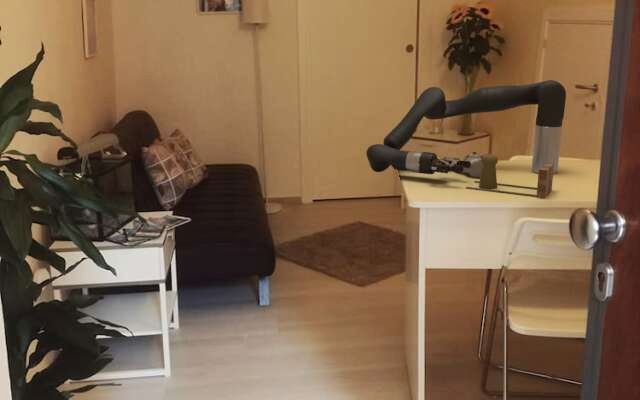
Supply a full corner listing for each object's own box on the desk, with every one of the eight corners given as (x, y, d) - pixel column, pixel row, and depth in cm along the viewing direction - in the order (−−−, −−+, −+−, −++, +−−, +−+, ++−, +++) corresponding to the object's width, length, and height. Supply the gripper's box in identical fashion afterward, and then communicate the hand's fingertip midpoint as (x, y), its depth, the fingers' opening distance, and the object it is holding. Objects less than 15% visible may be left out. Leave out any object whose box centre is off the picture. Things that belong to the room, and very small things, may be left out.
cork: (497, 189, 236) (499, 157, 233) (478, 188, 237) (480, 156, 234) (496, 185, 242) (499, 153, 239) (478, 184, 243) (480, 152, 240)
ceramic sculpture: (467, 154, 248) (452, 149, 262) (466, 179, 250) (451, 172, 264) (496, 154, 250) (479, 148, 264) (494, 178, 252) (478, 172, 266)
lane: (475, 181, 247) (476, 155, 245) (551, 190, 236) (554, 163, 233) (465, 188, 237) (466, 162, 235) (544, 198, 225) (547, 170, 223)
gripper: (427, 169, 255) (472, 173, 248) (413, 177, 243) (460, 182, 236) (428, 148, 253) (473, 152, 246) (414, 155, 241) (461, 160, 234)
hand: (466, 167), depth 241 cm, fingers open, 8 cm apart
